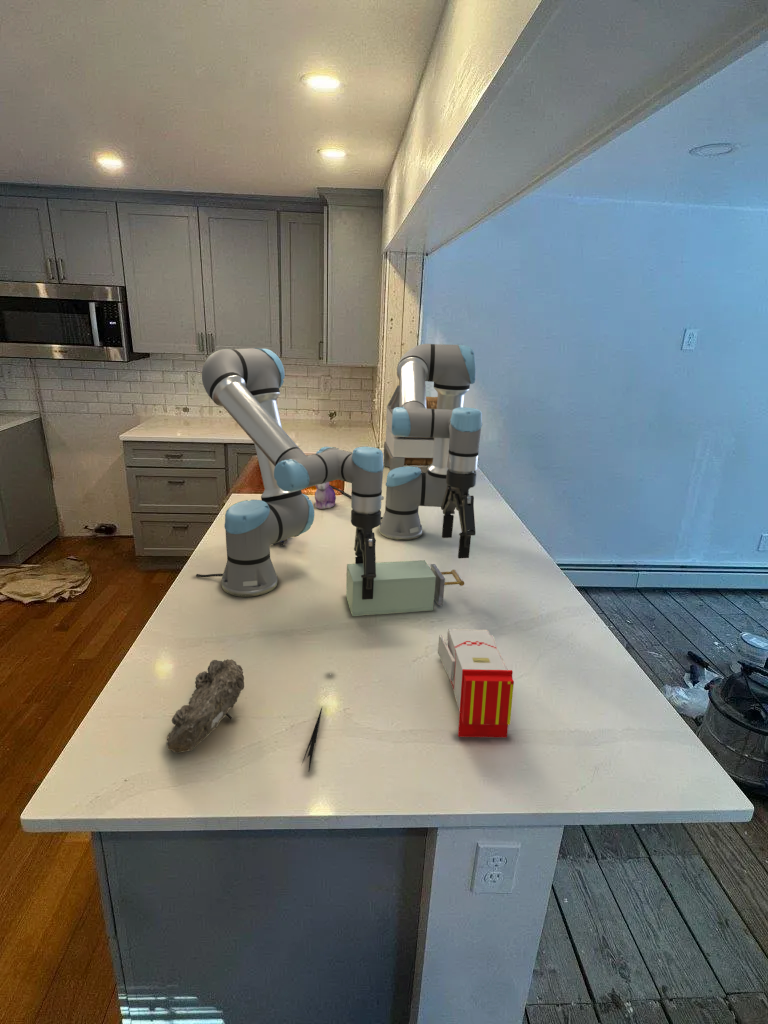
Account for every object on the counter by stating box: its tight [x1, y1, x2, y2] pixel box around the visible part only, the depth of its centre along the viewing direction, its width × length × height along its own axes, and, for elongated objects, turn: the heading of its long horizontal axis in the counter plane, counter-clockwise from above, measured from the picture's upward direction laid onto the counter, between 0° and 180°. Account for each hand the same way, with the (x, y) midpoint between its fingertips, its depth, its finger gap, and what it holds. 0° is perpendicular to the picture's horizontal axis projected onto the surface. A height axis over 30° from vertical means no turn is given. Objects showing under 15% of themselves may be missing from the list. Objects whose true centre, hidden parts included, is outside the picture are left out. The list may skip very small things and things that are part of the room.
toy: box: [437, 628, 515, 738], centre depth 117 cm, size 12×13×30 cm
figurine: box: [314, 482, 337, 510], centre depth 222 cm, size 9×10×15 cm
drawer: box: [430, 563, 465, 606], centre depth 152 cm, size 26×9×8 cm, turn 102°
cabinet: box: [345, 559, 436, 617], centre depth 151 cm, size 22×10×10 cm, turn 102°
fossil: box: [166, 658, 245, 754], centre depth 106 cm, size 22×10×15 cm
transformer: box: [383, 384, 438, 472], centre depth 268 cm, size 34×33×41 cm
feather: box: [301, 673, 332, 771], centre depth 108 cm, size 2×28×2 cm
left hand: (363, 588), depth 149 cm, fingers open, 10 cm apart
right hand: (454, 547), depth 151 cm, fingers open, 13 cm apart
